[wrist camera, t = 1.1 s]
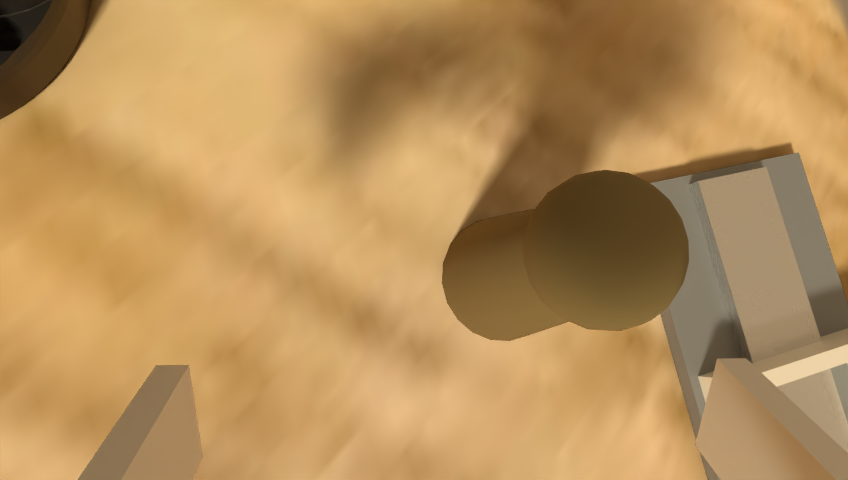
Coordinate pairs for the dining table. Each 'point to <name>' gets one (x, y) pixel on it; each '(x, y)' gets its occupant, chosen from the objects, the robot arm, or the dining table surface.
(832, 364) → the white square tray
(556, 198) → the cork
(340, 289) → the dining table surface
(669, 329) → the mounting board
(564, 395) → the dining table surface
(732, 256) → the metal rail
